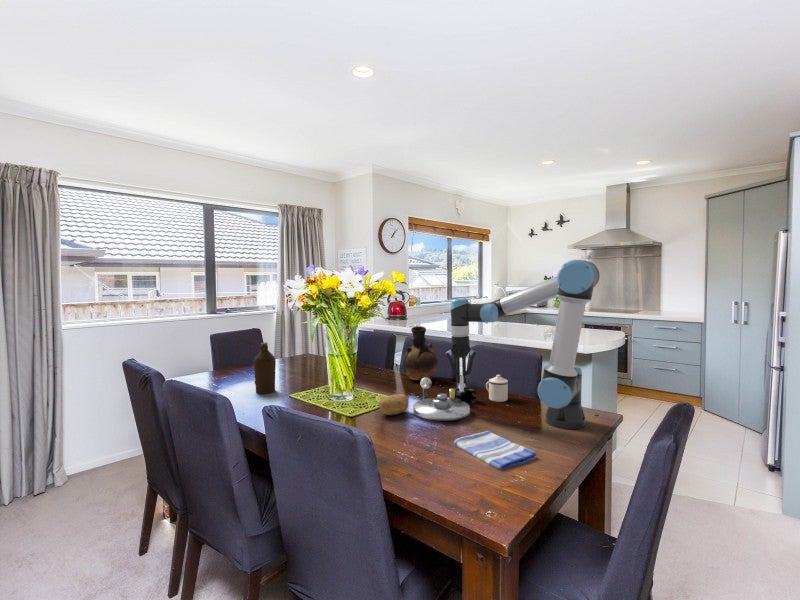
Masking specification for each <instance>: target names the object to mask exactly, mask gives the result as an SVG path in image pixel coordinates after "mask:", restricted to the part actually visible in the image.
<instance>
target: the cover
mask: <svg viewBox="0 0 800 600" xmlns="http://www.w3.org/2000/svg"><path fill="white" fill-rule="evenodd" d="M432 398H433V407H434V408H436V409H449V408H451V407H452V400H451V399H450V397H448V394H447V393H438V394H436V397H432Z"/></svg>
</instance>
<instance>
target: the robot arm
mask: <svg viewBox="0 0 800 600" xmlns="http://www.w3.org/2000/svg"><path fill="white" fill-rule="evenodd" d="M599 281H600V271H599V268H598V267H597V265H596V264H594V263H593V262H591V261H590V260H584V259H583V260H582V259H572V260H569V261H567V262H564V263H563V264H562V265H561V266H560V268H559V269H558V270H557V274H556V276H554V277H552V278H549V279H547V280H544V281H542V282H541V281H540V282H539V283H536V284H534V285H532V286H529V287H526V288H524V289H521V290H519V291H517V292H514V293H512V294H509V295H506V296H503V297H501V298H498V299H496V300H494V301H491V302H485V303H470V301H469V299H468V298H453V299H452V300H451V301H450V309H449V310H450V328H451V330H450V332H451V333H450V334H451V335H452V336H451V347H450V349H449V350H448V351H446V352H445V355H446V357H447V358H448V362H449V365H450V370H451V373H452V375H454V376H456V383H457V384H458V388H459V390H460V392H464V384H467V376H468V375H470V374H471V373H472V372H471V371H472V367H473V362H474V357H476V355H477V352H476V350H472V348H471V346H470V323H473V322H474V323H485V324H488V323H495V322H496V321H497V320H498V319H501V318H503V317H505V316H507V315H508V316H509V315H511V314H514V313H516V312H518V311H522V310H524V309H527V308H530V307H533V306H535V305H538V304H540V303H543V302H546V301H549V300H551V299H555V298H557V297H558V299H559V306H558V312H557V318H556V323H555V330H554V334H553V340H552V341H553V342H552V347H551V351H550V356H549V357H550V358H549V362H548V363H547V364H546V365H544V367H543V370H542V371H543V372H542V379H541V381H540V382H539V383H538V386H537V395H538V397H539V400H540V401H541V402H542V403H543V404H544V405H545V406H547V409H546V412H545V413H544V414H545V415H544V421H545V422H546V423H547V424H548V425H550V426H552V427H555V428H560V429H566V430H567V429H568V430H577V428H578V429H582V428H584V427H585V426H586V425H585V424H587V423H586V416H585V412H584V410H583V406H582V386H583V385H582V384H583V383H582V382H583V381H582V379H583V372H582V368H581V367H579V366H576V365H575V364H576V359H577V354H578V348H579V342H580V337H581V331H582V326H583V320H584V315H585V310H586V305H587V303H589V302H592V298H593V293H594V289H595V287H596V286H597V285H598V283H599ZM452 354H453V355H452ZM468 355H469V359H468V363H467V356H468ZM452 356H454V357H455V364H456V366H454V363H453V358H452ZM460 358H461V359H460ZM460 364H462V365H461V366H462V367H461V366H460ZM467 364H468V365H467ZM461 368H462V369H461ZM455 369H456V370H455ZM460 369H461V370H462V374H461V370H460ZM583 426H584V427H583ZM581 427H582V428H581Z"/></svg>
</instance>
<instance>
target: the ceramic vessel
mask: <svg viewBox="0 0 800 600" xmlns="http://www.w3.org/2000/svg"><path fill="white" fill-rule="evenodd" d="M410 330H411V333H412V337H413V340H412V344H413V345H412V346H408V347H407V348H406V352H405V353H404V355H403V357H402V361H401V364H402V365H401V366H402V369H403V371H404V373H405V375H406V376H407V377H408V378H409V379H411V380H413V381H421V379H422V378H424V377H427V378H429V379H431V377H432V376H433V374H435V372H436V370H437V368H438V365H439V360H438V355H437V354H436V351H435V350H434V348H433V344H432V343H428V344H426V341H427V339H426V337H425V336H426V332H427V328H426V327H425V326H421V325H419V326H417V325H416V326H413V327H412V328H411V329H410Z"/></svg>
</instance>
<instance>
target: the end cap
mask: <svg viewBox="0 0 800 600" xmlns="http://www.w3.org/2000/svg"><path fill="white" fill-rule="evenodd" d="M454 389H455V399H456V400H460V401H463V402H465V403H467V404H468V405H473V404H476V402H477V401H476V400H477V396H476V395H477V390H475V389H473V387H472V385H471V386H465V387H464V392H460V390H459V387H458V388H454ZM473 394H475V395H473Z"/></svg>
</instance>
